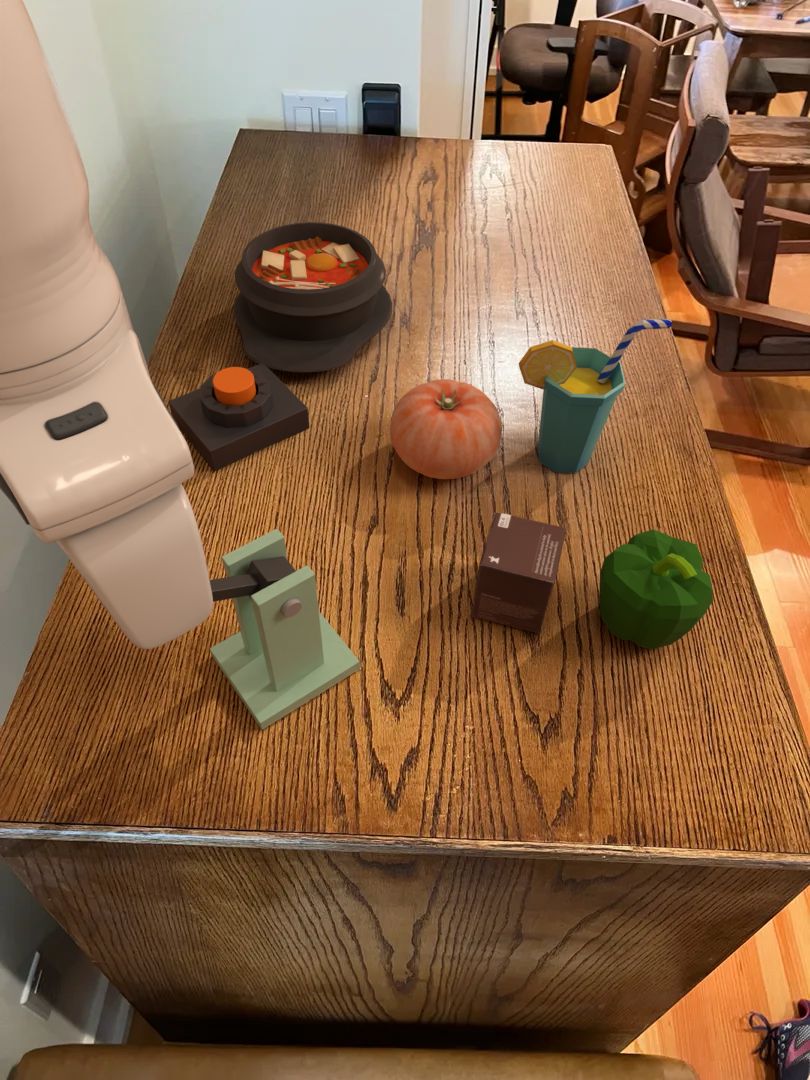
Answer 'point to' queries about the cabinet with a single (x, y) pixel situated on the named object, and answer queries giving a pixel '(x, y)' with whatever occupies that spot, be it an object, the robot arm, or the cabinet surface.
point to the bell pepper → (653, 589)
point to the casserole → (309, 296)
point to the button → (234, 386)
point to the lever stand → (280, 639)
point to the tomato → (445, 429)
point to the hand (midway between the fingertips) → (120, 565)
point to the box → (517, 571)
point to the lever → (252, 579)
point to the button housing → (239, 419)
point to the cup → (576, 395)
